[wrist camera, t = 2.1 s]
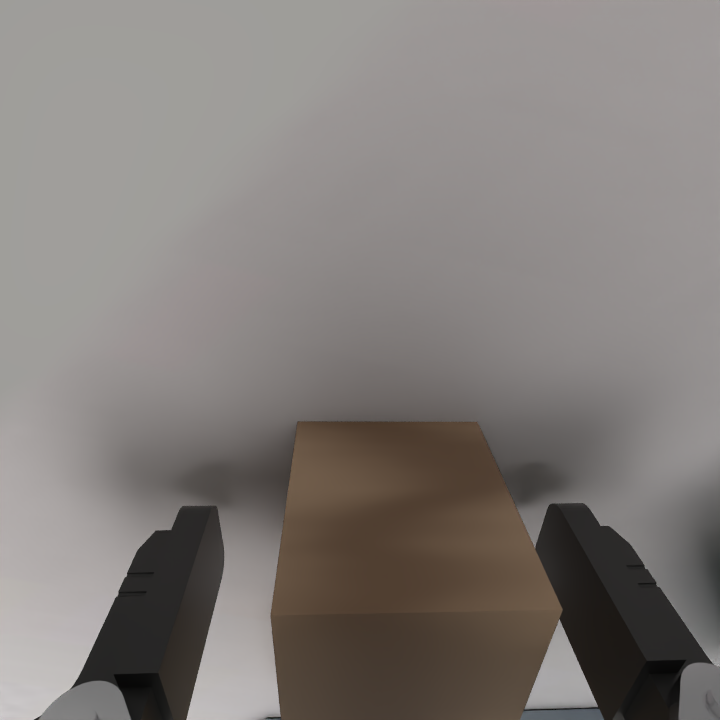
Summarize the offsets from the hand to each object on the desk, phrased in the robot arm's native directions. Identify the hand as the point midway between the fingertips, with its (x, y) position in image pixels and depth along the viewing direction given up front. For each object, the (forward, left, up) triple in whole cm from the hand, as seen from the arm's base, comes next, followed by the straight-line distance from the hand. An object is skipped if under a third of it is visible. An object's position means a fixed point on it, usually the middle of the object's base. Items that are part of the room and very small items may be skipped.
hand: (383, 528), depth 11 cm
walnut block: (0, 0, -1) cm, 1 cm away
